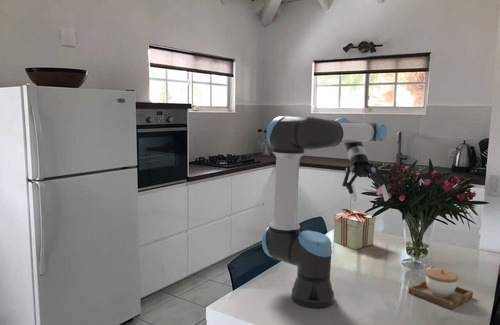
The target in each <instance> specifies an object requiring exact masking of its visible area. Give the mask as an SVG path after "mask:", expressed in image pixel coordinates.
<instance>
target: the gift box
mask: <svg viewBox="0 0 500 325" xmlns="http://www.w3.org/2000/svg"><path fill="white" fill-rule="evenodd" d="M341 211H344V212H340V213H334V215H333V221H334V228H333V242H334V243H336V244H338V245H341V246H344V247H347V248H350V249H352V250H358V249H362V248H365V247H369V246H372V245H374V237H375V223H376V218H377V217H376V216H374V217H373V218H372V216H373V215H371V214H369V213H367V212H360V211H357V210H352V209H349V208H348V209H347V208H342V210H341Z"/></svg>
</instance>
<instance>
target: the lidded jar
mask: <svg viewBox="0 0 500 325" xmlns="http://www.w3.org/2000/svg"><path fill="white" fill-rule="evenodd" d="M425 280H426V284H427V287H428V289H429V290H430V291H431V293H432V294H433V295H435V296H438V297H449V295H451V294H452V293H453V292H454V291H455V289H456V286H457V287H458V281H459V275H458V274H456V273H455V272H454V271H451V270H447V269H443V268H436V267H435V268H432V267H431V268H428V269H426V271H425Z"/></svg>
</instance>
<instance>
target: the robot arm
mask: <svg viewBox="0 0 500 325" xmlns="http://www.w3.org/2000/svg"><path fill="white" fill-rule="evenodd" d="M387 136H388V127H387V125H386V124H385V123H379V122H357V121H355V122H354V121H353V122H352V121H350V120H348V119H347V118H345V117H338V118H336V119H324V118H321V117H315V116H293V115H283V116H282V115H281V116H277V117H275V118H274V119H272V121H271V122H270V123H269V125H268V126H267V130H266V141H267V143H268V145H269V146H270V147H272V154H274V156H275V177H274V178H275V181H274V200H273V202H274V203H273V220H272V221H271V222H270V223H269V224H268V226H267V228H266V229H265V230H264V233H263V234H262V238H261V245H262V249H263V251H264V253H265V254H266V256H268V257H270V258H272V259H273V260H276V261H281V262H283V263H287V264H290V265H293V266H294V267H295V266H296V268H297V269H296V271H297V272H296V278H295V281H294V283H293V285H292V289H291V299H292V301H293V302H294V303H296V304H298V305H300V306H302V307H305V308H312V309H323V308H326V307H330V306H332V305H333V304H334V302H335V292H334V290H333V286H332V282H331V269H332V268H331V267H332V254H333V249H332V241H331V239H330V238H329V236H327V235H326V234H324V233H323V232H322V233H321V232H319V231H313V230H304V231H303V230H302V231H301V225H300V224H299V222H298V221H297V218H298V217H297V215H298V214H297V213H298V196H299V181H300V180H299V178H300V177H299V175H300V160H301V159H300V158H301V157H303V156H304V154H305V151H306V150H307V151H313V150H320V149H328V148H334V147H337V146H339V145H340V144H343V145H344V146H345V149H346V153H347V156H348V160H349V164H350V165H347V166H346V168H345V175H344V178H343V182H342V187H343V188H344V187H345V188H346V189H347V190H348V193H349V195H351V198H352V201H353V203H354V202H356V201H357V199H358V196H357V193H356V188H355V185H354V182H355V180H356V179H357V177H359V178H367V179H371V180H372V181H373V182H375V183H376V184H377V185H378V186H379V187H380V191H381V195H382V198H383V200H384V202H387V201H388V200H389V199H390V196H389V188H388V187H389V185H390V183H391V181H390V180H389V179H388V178H387V177H386V176H385V175H384V174H383V173H382V172H381V171H380V170H379V167H378V165H375V166H374V167H373V166H372V167H371V166H370V162H369V161H370V160H369V158H368V156H367V152H366V149H365V147H364V144H363V143H364V142H375V143H376V142H377V143H378V142H384V141H385V140H386V139H387ZM351 172H353V176H352V178H351V179H350V180H349V177H350V174H351ZM348 180H349V182H348Z"/></svg>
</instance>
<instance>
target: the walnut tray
mask: <svg viewBox="0 0 500 325" xmlns="http://www.w3.org/2000/svg"><path fill="white" fill-rule="evenodd" d="M408 294H411V295H413V296H416V297H418V298H421V299H423V300H426V301H428V302H430V303H433V304H436V305H439V306H441V307H444V308H445V309H448V310H451V311H452V310H455V309H456V308H458V307H459V306H461V305H463V304H464V303H466V302H467V301H469V300H472V299H473V294H474V291H471V290H468V289H466V288H463V287H460V286H458V285H457V286H456V289H455V291H454V292H453V293H452V294H451V295H449V297H438V296H435V295H433V294H432V293H431V291H430V290H429V289H428V287H427V284H426V279H425V280H422V281H420V282H418V283H416V284H413V285H411V286H409V287H408Z"/></svg>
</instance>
